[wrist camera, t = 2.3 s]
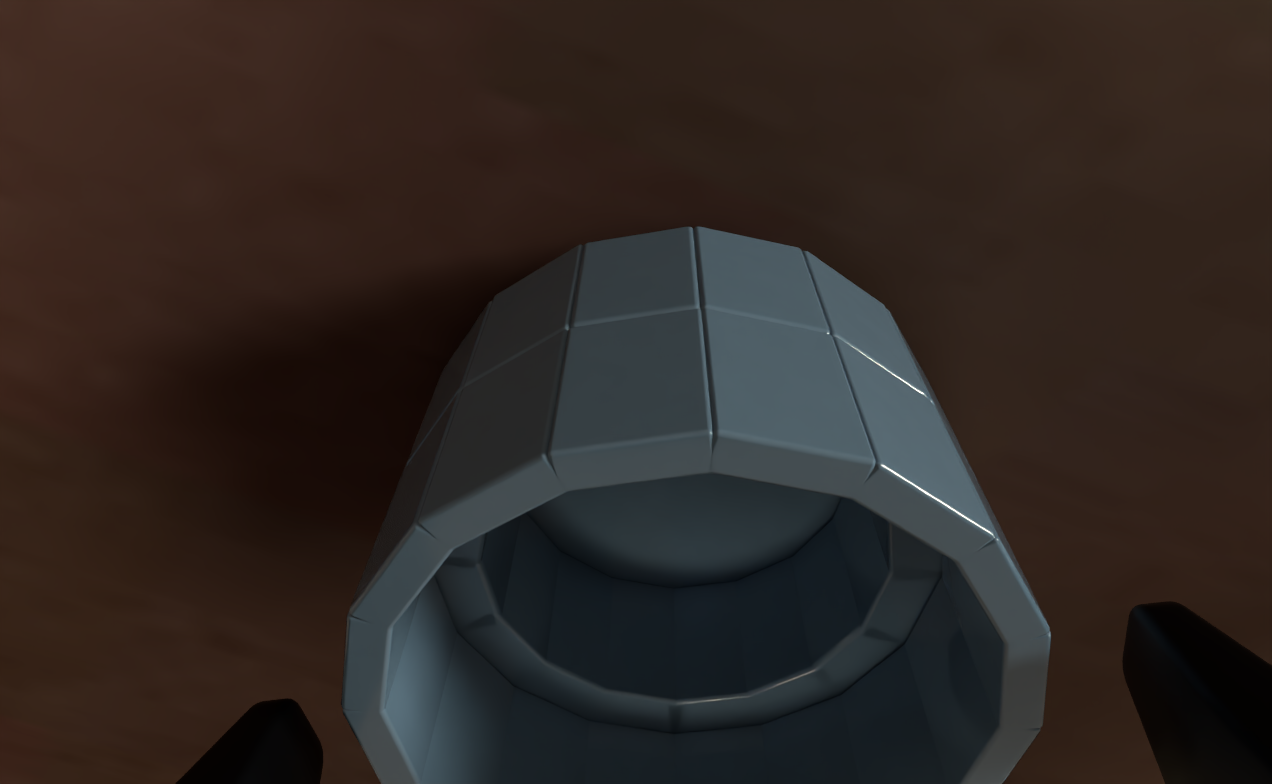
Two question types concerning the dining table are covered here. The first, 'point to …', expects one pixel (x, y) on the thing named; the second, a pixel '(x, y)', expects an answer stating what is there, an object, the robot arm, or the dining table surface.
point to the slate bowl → (690, 544)
